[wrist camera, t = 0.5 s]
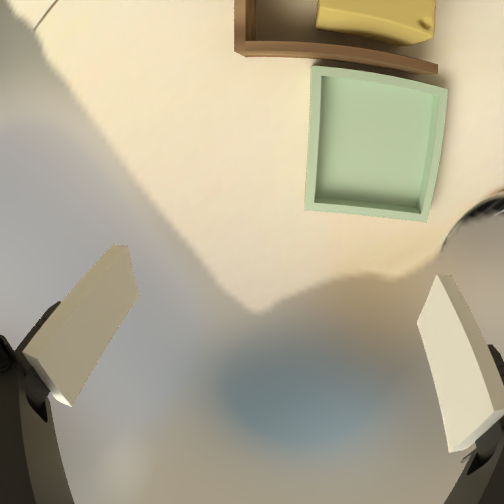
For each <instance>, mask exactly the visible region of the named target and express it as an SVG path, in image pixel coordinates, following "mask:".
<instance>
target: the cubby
mask: <svg viewBox="0 0 504 504" xmlns="http://www.w3.org/2000/svg"><path fill="white" fill-rule="evenodd" d="M234 51H235V52H237V53H239V54H241V55H243V56H245V57H293V58H310V59H323V60H333V61H342V62H350V63H358V64H365V65H371V66H377V67H383V68H388V69H393V70H398V71H403V72H408V73H412V74H438V64H434V63H431V62H427V61H423V60H419V59H415V58H411V57H406V56H402V55H397V54H392V53H387V52H382V51H377V50H371V49H365V48H358V47H351V46H343V45H334V44H324V43H311V42H294V41H255V0H235V3H234Z"/></svg>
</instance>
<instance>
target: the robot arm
mask: <svg viewBox="0 0 504 504" xmlns="http://www.w3.org/2000/svg"><path fill="white" fill-rule="evenodd" d="M138 297H139V292H138V288H137V284H136V280H135V276H134V272H133V267H132V263H131V259H130V254H129V250H128V246H125V245H112V246H111V247H110V249H109V250H108V251H107V252H106V253H105V254H104V255H103V256H102V257H101V258H100V259H99V260H98V261H97V262H96V264H95V265H94V266H93V267H92V268H91V269H90V270H89V271H88V272H87V273H86V275H85V276H84V277H83V278H82V279H81V280H80V281H79V282H78V283H77V285H76V286H75V287H74V288H73V289H72V290H71V292H70V293H69V294H68V295H67V296H66V297H65V299H64V300H63V301H62V302H60V301H59V302H57V303H56V304H54V305H53V306H51V307H50V308H49V309H48V310H47V311H46V312H45V313H44V314H43V316H42V317H41V319H39V321H38V322H37V323H36V326H34V327H33V328H32V329H31V331H30V332H29V333H28V334H27V336H26V337H25V338H24V340H23V341H22V342H21V343H20V345H19V346H18V347H17V349H16V350H15V351H14V350H13V349H12V347H11V346H10V344H9V343H8V341H7V339H6V338H5V337H4V336H2V335H0V504H74V501H73V498H72V495H71V492H70V489H69V486H68V482H67V478H66V475H65V472H64V468H63V465H62V460H61V456H60V452H59V448H58V443H57V439H56V434H55V429H54V423H53V418H52V412H51V406H50V401H49V399H48V397H47V396H48V394H49V392H51V393H52V394H53V396H54V397H55V398H56V400H58V401H60V402H62V403H64V404H66V405H69V406H71V407H72V406H73V404H74V402H75V400H76V399H77V397H78V395H79V393H80V392H81V390H82V388H83V386H84V384H85V383H86V381H87V379H88V377H89V376H90V374H91V372H92V371H93V369H94V367H95V366H96V364H97V362H98V360H99V359H100V357H101V355H102V354H103V352H104V350H105V349H106V347H107V345H108V344H109V342H110V341H111V339H112V337H113V336H114V334H115V333H116V331H117V329H118V328H119V326H120V325H121V323H122V321H123V320H124V318H125V317H126V315H127V314H128V312H129V310H130V309H131V307H132V306H133V304H134V303H135V301H136V300H137V298H138ZM417 325H418V328H419V331H420V334H421V338H422V341H423V344H424V347H425V351H426V354H427V357H428V361H429V365H430V368H431V372H432V375H433V379H434V383H435V387H436V391H437V395H438V400H439V403H440V408H441V413H442V417H443V422H444V427H445V433H446V437H447V444H448V449H449V452H455V451H460V450H465V449H467V448H468V447H469V446H470V445H472V444H473V443H474V442H475V443H476V447H477V448H476V449H475V450H473V451H472V452H471V453H470V454H468V455H467V456H466V457H464V458H463V460H462V461H461V463H464V462H465V461H466V460H468V459H469V460H468V462H467V464H466V466H465V468H464V470H463V472H462V474H461V476H460V477H459V479H458V481H457V483H456V484H455V486H454V488H453V490H452V492H451V493H450V495H449V496H448V498H447V499H446V501H445V503H444V504H504V362H503V359H502V357H501V355H500V353H499V352H498V351H497V350H496V349H495V348H494V346H493V345H487V344H486V341H485V339H484V337H483V335H482V333H481V331H480V328H479V326H478V324H477V322H476V320H475V318H474V316H473V314H472V312H471V310H470V309H469V306H468V304H467V303H466V301H465V299H464V297H463V295H462V293H461V291H460V290H459V288H458V286H457V284H456V282H455V281H454V279H453V277H452V275H445V274H437V275H436V278H435V280H434V283H433V285H432V288H431V290H430V293H429V295H428V298H427V300H426V303H425V305H424V307H423V310H422V312H421V314H420V316H419V318H418V321H417Z"/></svg>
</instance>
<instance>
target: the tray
mask: <svg viewBox="0 0 504 504" xmlns="http://www.w3.org/2000/svg"><path fill="white" fill-rule="evenodd" d="M447 96H448V89H445V88H441V87H438V86H434V85H430V84H426V83H422V82H418V81H413V80H409V79H404V78H399V77H394V76H389V75H384V74H378V73H372V72H365V71H358V70H351V69H343V68H334V67H324V66H311V84H310V114H309V137H308V156H307V172H306V187H305V201H304V210H308V211H320V212H332V213H343V214H353V215H363V216H373V217H383V218H392V219H401V220H409V221H417V222H426V223H427V219H428V215H429V211H430V207H431V202H432V198H433V193H434V188H435V183H436V178H437V173H438V167H439V161H440V155H441V149H442V142H443V135H444V127H445V118H446V108H447Z"/></svg>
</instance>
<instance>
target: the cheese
mask: <svg viewBox="0 0 504 504" xmlns="http://www.w3.org/2000/svg"><path fill="white" fill-rule="evenodd" d="M434 27H435V0H318V4H317V16H316V24H315V28H316V29H321V30H327V31H332V32H338V33H345V34H351V35H357V36H363V37H367V38H371V39H375V40H379V41H383V42H386V43H389V44H393V45H396V46H399V47H401V46H410V45H413V44H416V43H418V42H422V41H426V40H428V39H430V38H432V37H433V36H434Z"/></svg>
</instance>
